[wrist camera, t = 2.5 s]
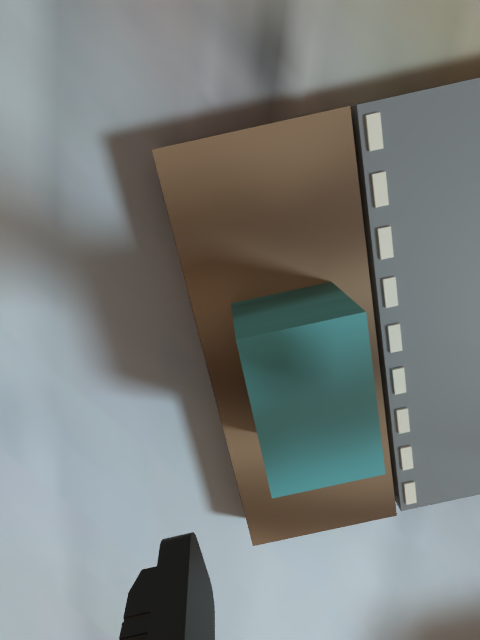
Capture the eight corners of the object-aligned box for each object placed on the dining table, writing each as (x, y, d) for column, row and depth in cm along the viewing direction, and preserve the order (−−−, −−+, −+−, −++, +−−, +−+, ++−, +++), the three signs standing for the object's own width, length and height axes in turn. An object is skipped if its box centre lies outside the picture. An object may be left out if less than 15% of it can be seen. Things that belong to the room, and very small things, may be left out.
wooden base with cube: (157, 152, 16) (130, 139, 11) (338, 112, 16) (397, 80, 11) (250, 522, 22) (262, 629, 17) (384, 493, 22) (438, 591, 17)
